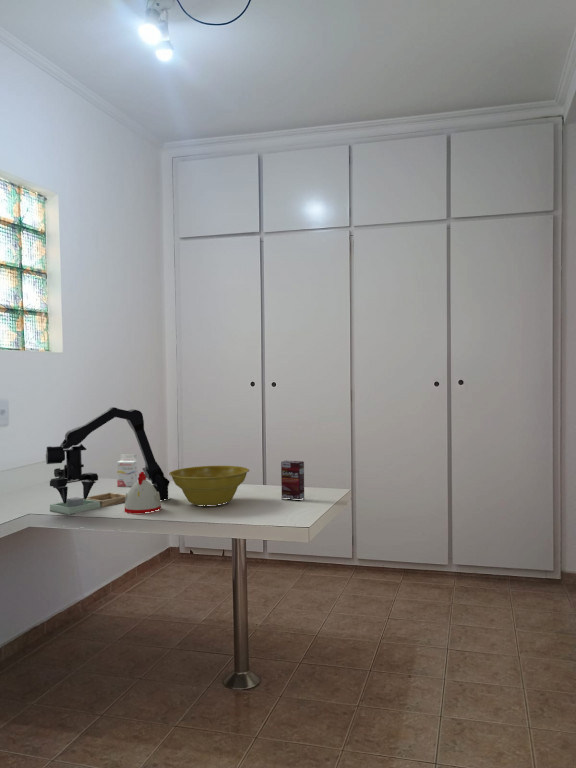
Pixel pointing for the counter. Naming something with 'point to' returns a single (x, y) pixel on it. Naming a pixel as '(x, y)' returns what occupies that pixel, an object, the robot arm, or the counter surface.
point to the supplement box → (292, 479)
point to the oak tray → (108, 499)
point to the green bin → (73, 510)
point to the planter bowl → (209, 483)
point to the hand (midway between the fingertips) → (75, 501)
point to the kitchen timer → (142, 497)
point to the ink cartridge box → (127, 470)
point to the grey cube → (75, 502)
